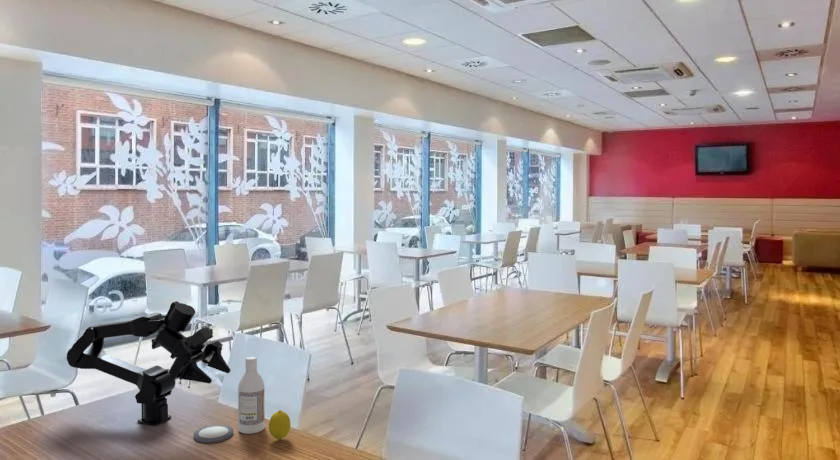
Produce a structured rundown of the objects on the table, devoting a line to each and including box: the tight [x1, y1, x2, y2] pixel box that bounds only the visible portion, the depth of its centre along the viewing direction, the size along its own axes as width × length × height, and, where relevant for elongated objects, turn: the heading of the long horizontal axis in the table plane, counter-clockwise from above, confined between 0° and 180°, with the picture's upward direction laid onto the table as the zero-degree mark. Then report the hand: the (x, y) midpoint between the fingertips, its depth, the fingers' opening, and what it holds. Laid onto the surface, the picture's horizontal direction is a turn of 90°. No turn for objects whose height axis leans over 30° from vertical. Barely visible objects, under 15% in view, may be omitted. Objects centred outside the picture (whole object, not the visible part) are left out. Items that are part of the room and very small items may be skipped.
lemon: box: [268, 409, 291, 441], centre depth 159 cm, size 6×6×8 cm
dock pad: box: [193, 424, 234, 444], centre depth 161 cm, size 10×10×1 cm
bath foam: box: [237, 356, 266, 435], centre depth 165 cm, size 7×7×20 cm
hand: (220, 376), depth 165 cm, fingers open, 9 cm apart
